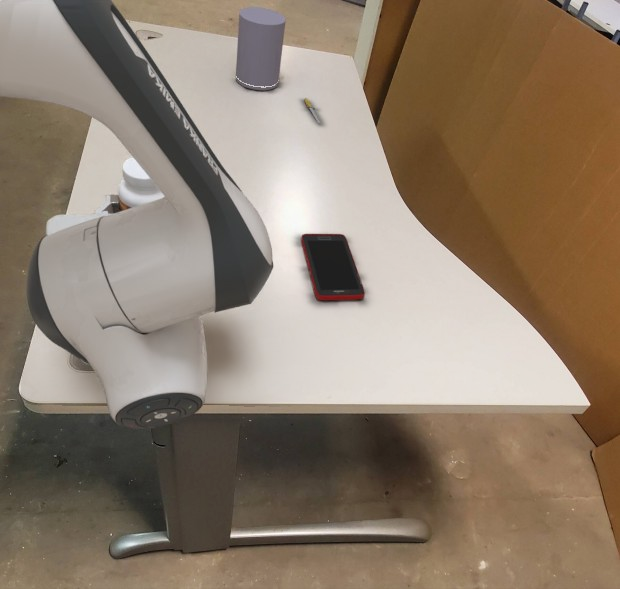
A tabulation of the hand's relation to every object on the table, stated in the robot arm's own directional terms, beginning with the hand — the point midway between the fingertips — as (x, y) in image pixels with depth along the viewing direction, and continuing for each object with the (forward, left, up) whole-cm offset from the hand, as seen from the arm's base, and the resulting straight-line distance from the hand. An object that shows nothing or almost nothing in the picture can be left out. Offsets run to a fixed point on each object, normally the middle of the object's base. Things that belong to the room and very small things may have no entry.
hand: (146, 199), depth 62 cm
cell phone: (+27, +5, -17) cm, 32 cm away
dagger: (+35, +57, -17) cm, 69 cm away
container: (+24, +71, -17) cm, 77 cm away
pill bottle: (0, -1, -6) cm, 6 cm away
